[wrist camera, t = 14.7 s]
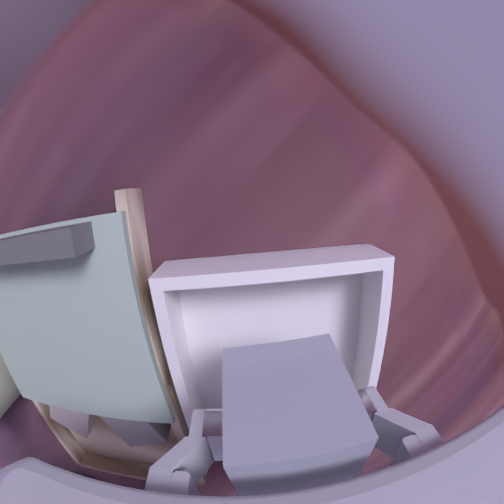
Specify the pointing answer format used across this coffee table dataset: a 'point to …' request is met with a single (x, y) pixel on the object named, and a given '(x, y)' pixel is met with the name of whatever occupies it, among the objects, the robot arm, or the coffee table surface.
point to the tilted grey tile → (139, 431)
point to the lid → (79, 320)
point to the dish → (270, 311)
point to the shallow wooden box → (102, 436)
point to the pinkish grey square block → (73, 420)
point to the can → (6, 388)
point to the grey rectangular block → (291, 417)
